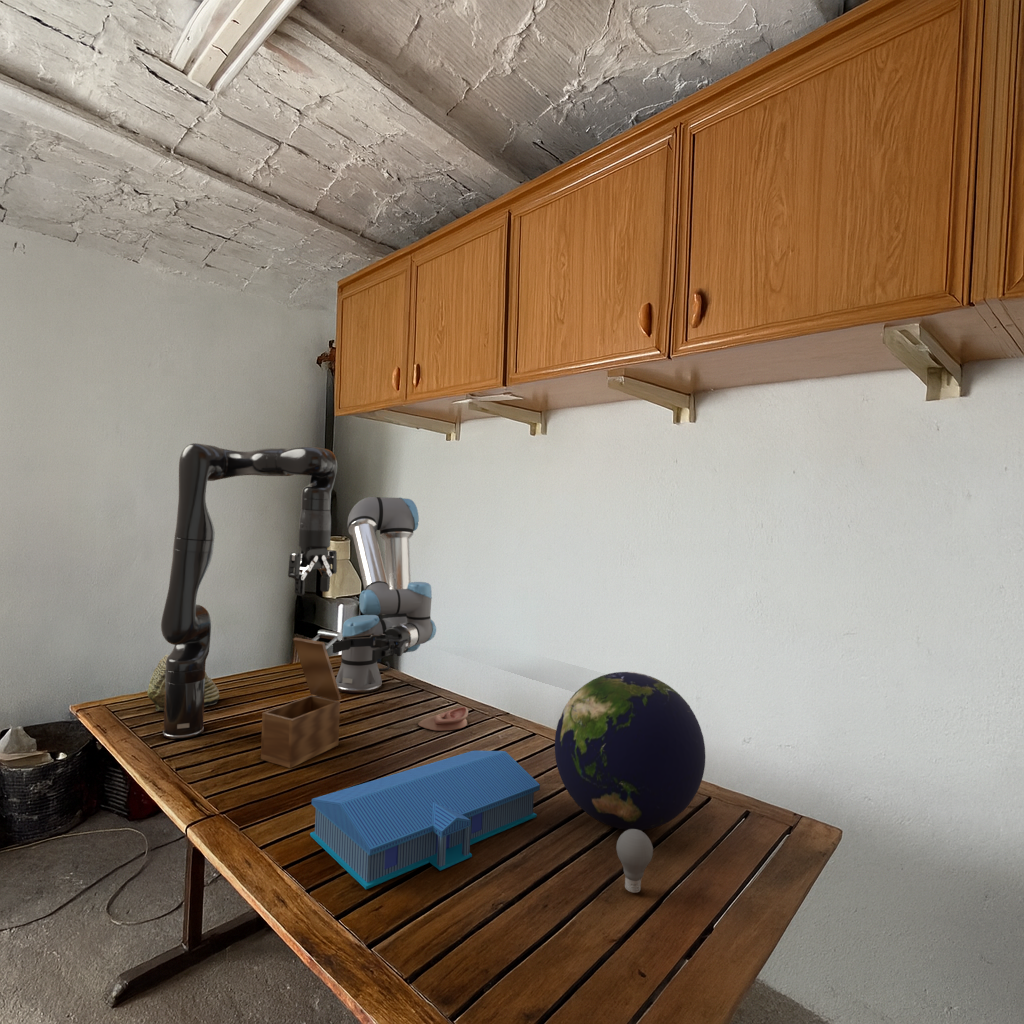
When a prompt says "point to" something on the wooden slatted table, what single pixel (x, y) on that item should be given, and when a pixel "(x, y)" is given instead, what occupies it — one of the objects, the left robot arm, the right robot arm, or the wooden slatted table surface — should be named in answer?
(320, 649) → the lid
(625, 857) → the light bulb
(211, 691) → the fossil
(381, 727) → the wooden slatted table surface
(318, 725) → the chest
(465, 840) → the model building
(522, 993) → the wooden slatted table surface
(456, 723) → the anatomical model
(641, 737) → the globe
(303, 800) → the wooden slatted table surface
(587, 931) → the wooden slatted table surface
